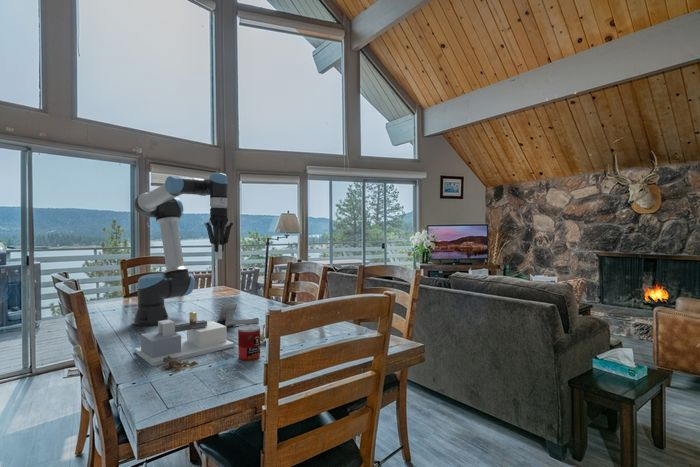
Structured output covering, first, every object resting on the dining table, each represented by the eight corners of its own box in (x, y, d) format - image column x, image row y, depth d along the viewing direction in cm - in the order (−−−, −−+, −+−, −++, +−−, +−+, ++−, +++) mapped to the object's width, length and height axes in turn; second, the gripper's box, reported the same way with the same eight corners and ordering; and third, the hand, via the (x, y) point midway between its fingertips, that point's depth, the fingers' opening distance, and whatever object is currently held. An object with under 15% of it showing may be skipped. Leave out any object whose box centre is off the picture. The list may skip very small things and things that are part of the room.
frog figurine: (150, 374, 128) (150, 362, 128) (173, 361, 140) (172, 350, 140) (182, 376, 126) (182, 364, 126) (202, 363, 138) (202, 352, 138)
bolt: (171, 331, 149) (171, 315, 149) (203, 324, 158) (203, 310, 158) (174, 332, 147) (174, 316, 147) (207, 326, 156) (207, 311, 156)
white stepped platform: (134, 352, 148) (134, 320, 148) (210, 336, 169) (210, 308, 169) (153, 366, 134) (153, 331, 134) (233, 346, 155) (233, 316, 155)
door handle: (219, 334, 194) (223, 322, 178) (217, 318, 197) (221, 305, 181) (255, 329, 201) (262, 317, 185) (253, 314, 205) (259, 301, 188)
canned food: (249, 362, 138) (249, 331, 138) (233, 358, 142) (233, 328, 142) (264, 356, 144) (264, 326, 144) (249, 352, 149) (249, 323, 148)
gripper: (208, 206, 172) (209, 260, 173) (236, 207, 181) (236, 258, 182) (201, 207, 177) (201, 259, 178) (228, 208, 186) (228, 257, 187)
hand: (219, 259), depth 180 cm, fingers closed
